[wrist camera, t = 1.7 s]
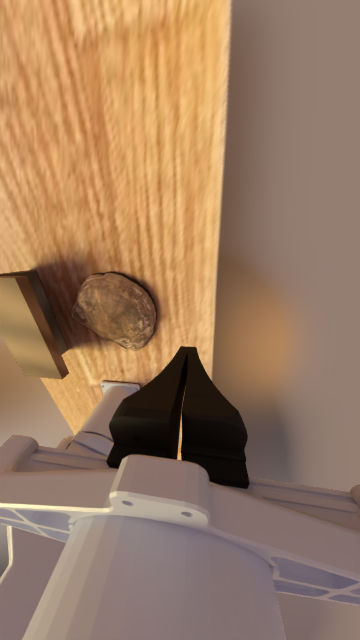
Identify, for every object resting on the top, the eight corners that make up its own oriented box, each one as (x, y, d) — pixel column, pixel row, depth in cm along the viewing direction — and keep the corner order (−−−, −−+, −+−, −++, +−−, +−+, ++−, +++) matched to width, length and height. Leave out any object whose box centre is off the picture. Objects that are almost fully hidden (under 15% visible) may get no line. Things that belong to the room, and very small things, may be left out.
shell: (94, 250, 20) (74, 250, 17) (173, 303, 22) (168, 313, 19) (72, 314, 25) (53, 324, 21) (138, 354, 26) (130, 368, 23)
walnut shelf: (92, 351, 27) (62, 379, 21) (62, 349, 28) (25, 376, 22) (65, 270, 21) (14, 277, 15) (28, 270, 22) (-35, 277, 16)
